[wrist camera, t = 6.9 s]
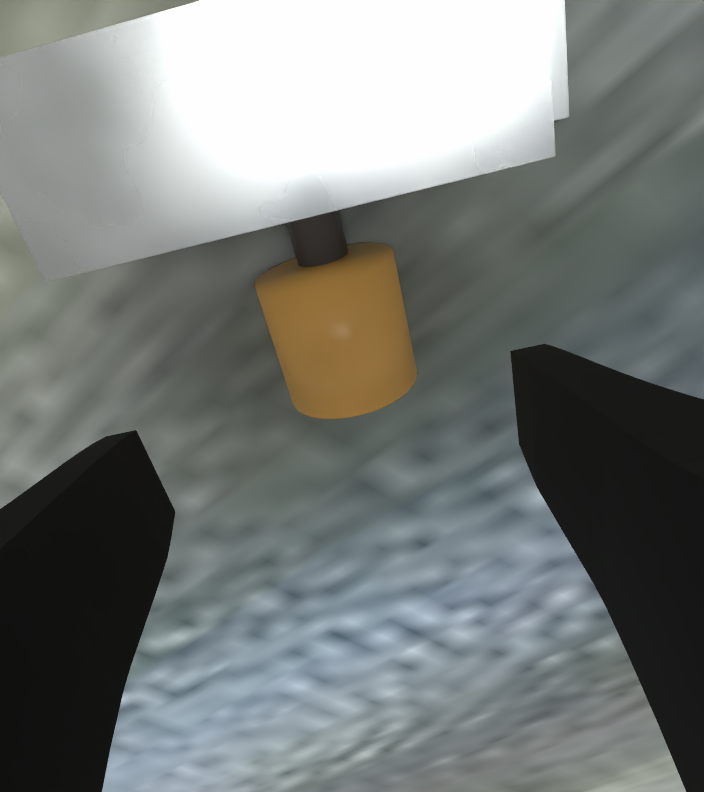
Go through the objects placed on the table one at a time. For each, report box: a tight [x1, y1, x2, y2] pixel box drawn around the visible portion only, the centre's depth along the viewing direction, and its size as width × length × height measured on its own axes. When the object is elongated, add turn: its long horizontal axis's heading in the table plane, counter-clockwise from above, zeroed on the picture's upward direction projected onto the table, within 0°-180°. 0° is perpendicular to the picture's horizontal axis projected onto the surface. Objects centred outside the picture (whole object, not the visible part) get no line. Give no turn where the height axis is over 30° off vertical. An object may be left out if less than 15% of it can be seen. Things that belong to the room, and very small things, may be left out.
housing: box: [0, 0, 569, 282], centre depth 14 cm, size 4×16×6 cm, turn 104°
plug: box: [255, 210, 417, 419], centre depth 14 cm, size 16×4×4 cm, turn 14°
